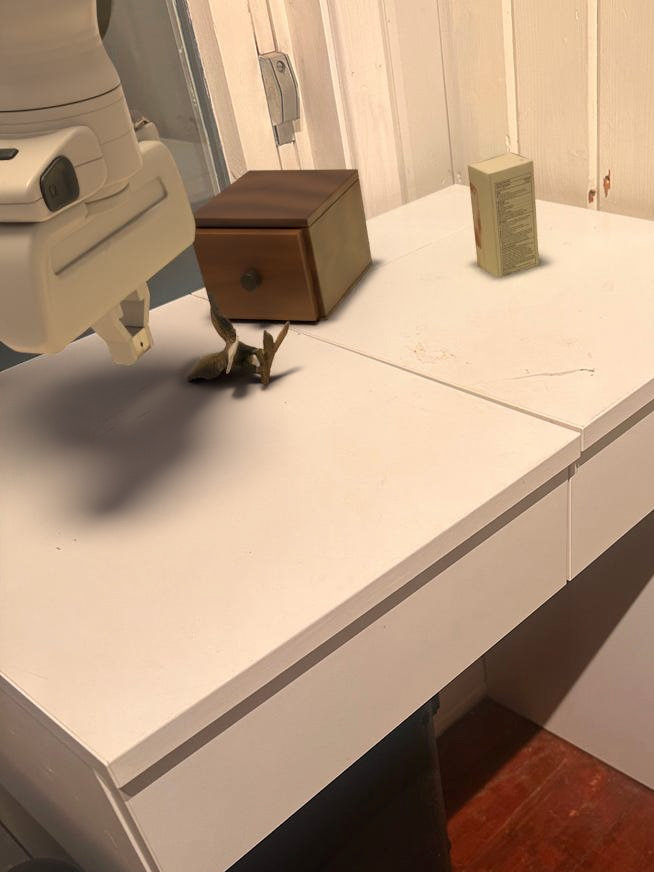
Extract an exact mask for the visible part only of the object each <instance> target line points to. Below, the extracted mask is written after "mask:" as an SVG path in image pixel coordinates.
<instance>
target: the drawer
mask: <svg viewBox="0 0 654 872" xmlns="http://www.w3.org/2000/svg"><path fill="white" fill-rule="evenodd" d="M210 228H211V229H195V239H194V242H193V243H192V246H193V249H194V253H195V257H196V260H197V261H196V262H197V264H198V268H199V271H200V274H201V278H202V282H203V285H204V288H205V292H206V295H207V300H209V298H208V293H209V292H211V293H213V294H214V295H215V301H216V305H217V307H218V308H219V312H220V314H222V315H225V316H226V317H227V318H228V319H234V320H235V319H236V320H237V319H239V320H268V321H269V320H271V321H272V320H273V321H274V320H275V321H278V320H279V321H308V322H309V321H311V322H315V321H317V320H316V319H317V318H318V317H319V310H318V305H317V300H316V295H315V290H314V285H313V280H312V275H311V270H310V265H309V260H308V256H307V251H306V246H305V241H304V236H303V231H302V229H301V227H210ZM208 303H209V304H210V302H209V301H208Z"/></svg>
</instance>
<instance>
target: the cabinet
mask: <svg viewBox="0 0 654 872" xmlns="http://www.w3.org/2000/svg"><path fill="white" fill-rule="evenodd" d="M193 216H194V220H195V229H211V228H210V227H301V229H302V231H303V236H304V241H305V246H306V251H307V256H308V260H309V265H310V270H311V275H312V280H313V285H314V290H315V295H316V300H317V305H318V310H319V317H318V318H317V319H316V321H328V320H329V319H330V317H331V316H332V315H333V314H334V313H335V311H336V310H337V309H338V308H339V306H340V305H341V304H342V303H343V301H345V299H346V298H347V296H348V295H349V294H350V293H351V292H352V290H353V289H354V288H355V286H357V284H358V283H359V282H360V280H361V279H362V278H363V277H364V275H366V273H367V272H368V270H369V269H370V268H371V267H372V266H373V259H372V252H371V246H370V239H369V233H368V226H367V221H366V213H365V206H364V200H363V192H362V187H361V181H360V174H359V169H357V168H347V169H346V168H345V169H344V168H341V169H340V168H339V169H338V168H337V169H335V168H333V169H253V170H252V169H251V170H248V171H246V172H245V173H244V174H242V175H241V176H240V177H238V178H237V179H236V180H235V181H234V182H232V183H231V184H229V185H228V186H226V188H224V189H223V190H222V191H220V192H219V193H218V194H217V195H215V196H214V197H213V198H211V199H210V200H208V201H207V202H206V203H204V204H203V205H202V206H201V207H199V208H198V209H197V210H195V211H194V212H193Z"/></svg>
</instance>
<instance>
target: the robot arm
mask: <svg viewBox="0 0 654 872" xmlns="http://www.w3.org/2000/svg"><path fill="white" fill-rule="evenodd" d="M116 3H117V0H0V342H1V343H3V344H4V345H5V346H6V347H8V348H9V349H11V350H13V351H14V352H18V353H25V354H36V355H37V354H39V355H40V354H41V355H42V354H43V355H53V354H58V353H61V351H63V350H64V349H65V348H67V347H68V346H69V345H70V344H71V343H72V342H74V341H75V340H76V339H77V338H79V337H80V336H81V335H83V334H84V333H85V332H86V331H87V330H88V329H92V331H94V333H96V334H97V335H98V336H99V337H100V338H101V339H102V340H103V341H104V342H105V343H106V346H107V349H108V351H109V354H110V357H111V359H112V361H113V362H114V363H116V364H117V365H126V366H127V365H128V366H132V365H134V363H136V362H137V361H138V360H139V359H140V358H142V356H143V355H144V354H145V353H147V352H148V351H149V350H150V349H151V348H152V347H153V346H154V343H155V341H154V338H153V335H152V333H151V332H152V331H151V329H150V326H149V323H150V305H151V303H150V301H151V300H150V299H151V294H150V290H149V287H148V284H147V283H148V282H147V281H149V280H150V279H151V278H152V277H153V276H155V275H156V274H157V273H158V272H159V271H161V270H162V269H163V268H164V267H165V266H167V265H168V264H170V263H171V261H173V260H174V259H176V258H177V257H178V256H179V255H180V254H182V253H183V252H184V251H185V250H186V249H188V248H189V247H190V246H192V245H193V242H194V239H195V220H194V216H193V213H194V212H193V209H192V206H191V203H190V200H189V197H188V194H187V191H186V189H185V185H184V183H183V180H182V176H181V174H180V171H179V169H178V166H177V164H176V161H175V159H174V157H173V154H172V153H171V151H170V150H169V148H168V147H167V145H166V144H164V143H163V142H162V141H161V138H160V133H159V131H158V129H157V126H156V125H155V123H154V122H153V121H152V122H151V120H150V119H149V118H148V117H147V116H146V115H144V114H142V112H141V111H139V110H138V109H129V106H128V103H127V99H126V96H125V93H124V90H123V86H122V83H121V79H120V76H119V74H118V71H117V69H116V67H115V64H114V63H113V61H112V60H111V57H110V56H109V55H108V53H107V50H106V49H105V46H104V43H103V40H104V38H105V36H106V35H107V32H108V30H109V28H110V26H111V23H112V20H113V17H114V13H115V9H116Z"/></svg>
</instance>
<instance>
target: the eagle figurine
mask: <svg viewBox="0 0 654 872" xmlns="http://www.w3.org/2000/svg"><path fill="white" fill-rule="evenodd" d="M208 298H209V299H208ZM207 299H208V303H209V302H210V303H209V307H210V310H209V311H210V319H211V323H212V326H213V329H215V332H216V333H217V334H218V336H219V337H220V338H221V339H222V340H223V342H224V343H225V346H224V348H223V349H222V350H221V351H218V352H214V353H209V354H206V355H203V356H202V357H201V358H199V359H198V361H197V362H196V364H195V366H194V367H193V368H192V370H191V371H190V373H189V374H188V375H187V377H186V382H189V381H193V380H196V379H199V378H200V379H201V378H203V379H206V380H209V379H213V378H217V377H218V376H219V375H221V372H222V371H223V370H224V369H225V367H226V372H225V373H226V374H227V375H228V374H229V373H230V370H231V369H232V366H233V367H237V368H241V369H242V370H243V371H245V372H249V373H251V374H254V375H259V376H260V381H261V382H262V383H263V384H264V385H265V386H267V385H269V384H270V378H271V377H270V376H271V368H272V366H273V362H274V360H275V356H276V354H277V351H278V350H279V348H280V347H281V346H282V342H283V341H284V339H285V338H286V337H287V335H288V332H289V328H290V325H291V323H290V320H286V322H285V324H284V326H283V327H282V329H281V330H280V332H279V334H278V335H277V337H276V339H275V341H274V336H273V335H272V334H271V333H270V332H268V331H267V330H266V329H264V330H263V334H262V348H261V347H260V348H259V347H256V346H252V345H249V344H246V343H244V342H243V341H241V340H240V338H239V335H237V330H236V328H235V327H234V325H233V323H232V322H231V320H230V319H229V318H227V317H226V316H225V315H222V314H220V312H219V308H218V307H217V305H216V301H215V295H214V294H213V293H211V292H209V293H208V296H207ZM254 356H255V357H256V359H257V360H258V363H259V365H258V366H257V363H256V360H255V358H254Z"/></svg>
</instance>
